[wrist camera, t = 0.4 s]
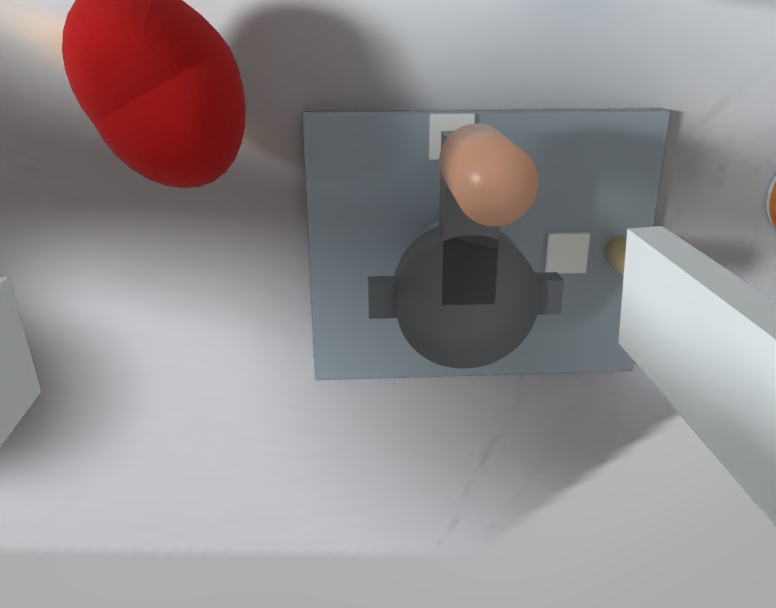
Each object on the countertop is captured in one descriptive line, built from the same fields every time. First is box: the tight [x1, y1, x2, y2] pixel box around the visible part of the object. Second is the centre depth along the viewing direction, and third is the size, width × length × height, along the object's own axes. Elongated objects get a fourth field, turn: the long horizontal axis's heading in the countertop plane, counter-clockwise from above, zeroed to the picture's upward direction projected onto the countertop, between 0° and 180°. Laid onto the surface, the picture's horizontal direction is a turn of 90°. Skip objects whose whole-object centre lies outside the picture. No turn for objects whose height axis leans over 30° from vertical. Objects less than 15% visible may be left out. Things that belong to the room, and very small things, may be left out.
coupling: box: [368, 123, 564, 369], centre depth 32 cm, size 12×10×7 cm
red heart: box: [62, 0, 245, 188], centre depth 33 cm, size 9×7×10 cm
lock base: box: [303, 108, 670, 380], centre depth 39 cm, size 20×16×8 cm
